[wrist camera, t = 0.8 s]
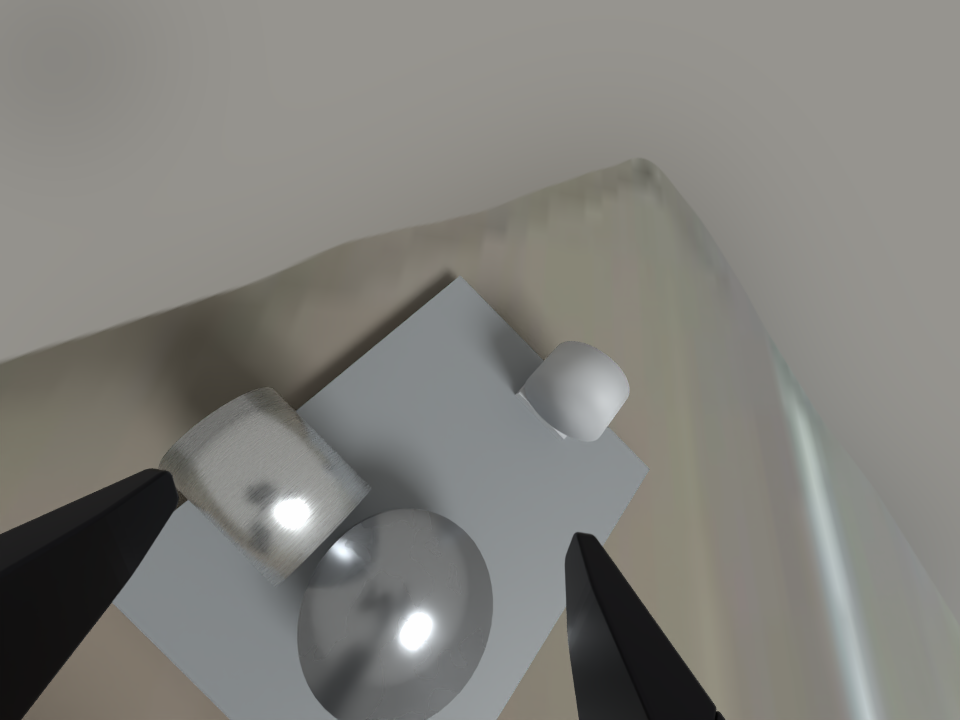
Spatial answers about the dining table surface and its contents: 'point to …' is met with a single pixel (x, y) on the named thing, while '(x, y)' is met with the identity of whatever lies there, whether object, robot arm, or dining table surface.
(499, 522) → the grey plate with knobs
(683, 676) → the robot arm
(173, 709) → the dining table surface
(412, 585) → the elbow
